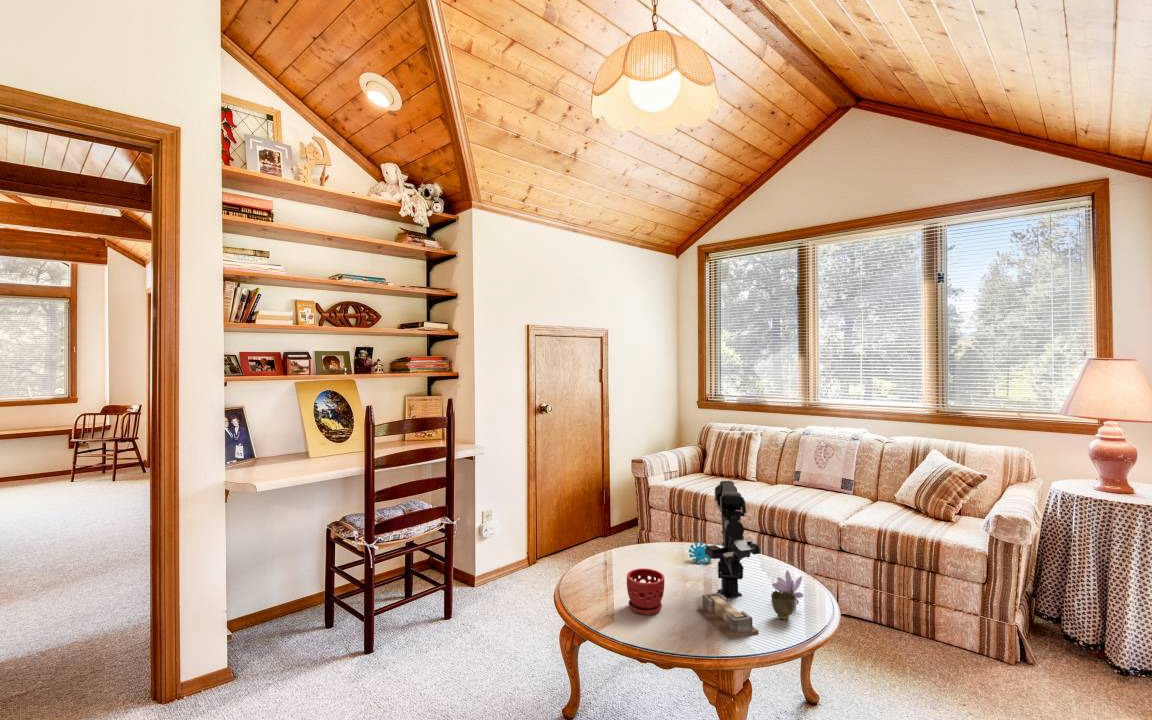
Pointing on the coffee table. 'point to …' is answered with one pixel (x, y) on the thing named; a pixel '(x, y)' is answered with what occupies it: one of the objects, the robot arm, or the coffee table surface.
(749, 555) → the robot arm
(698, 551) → the gear
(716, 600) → the birch slat
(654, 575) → the plant pot
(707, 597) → the end cap base
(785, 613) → the cup
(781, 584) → the water lily
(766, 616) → the coffee table surface
